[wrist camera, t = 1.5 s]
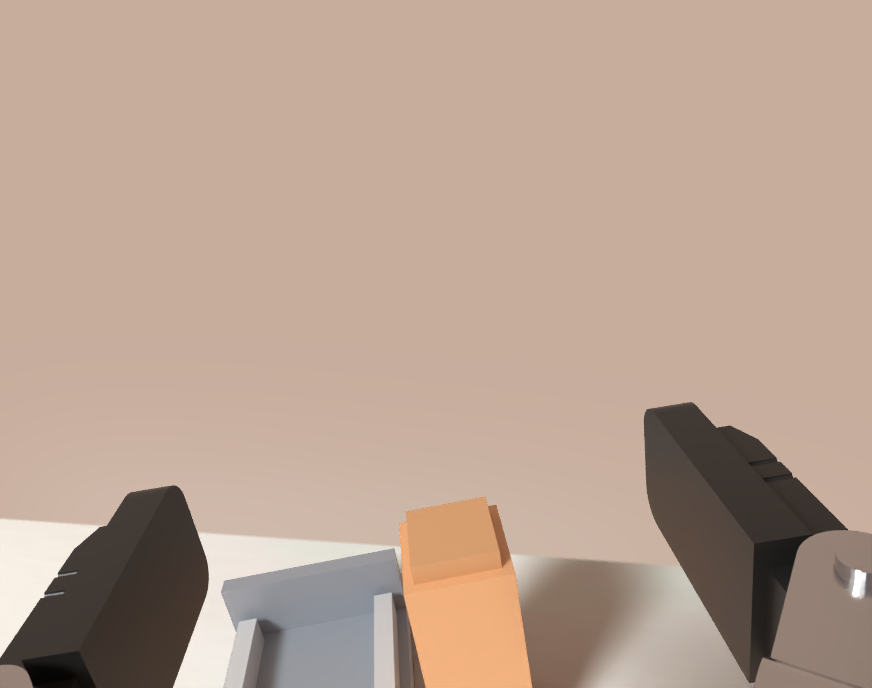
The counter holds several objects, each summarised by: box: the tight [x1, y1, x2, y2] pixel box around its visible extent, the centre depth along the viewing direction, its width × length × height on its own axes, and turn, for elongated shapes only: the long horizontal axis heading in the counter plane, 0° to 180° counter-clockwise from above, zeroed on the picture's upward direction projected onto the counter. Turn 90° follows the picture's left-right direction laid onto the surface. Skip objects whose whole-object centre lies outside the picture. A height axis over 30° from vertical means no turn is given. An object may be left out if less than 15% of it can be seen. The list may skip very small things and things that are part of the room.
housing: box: [221, 549, 415, 688], centre depth 31 cm, size 9×9×4 cm
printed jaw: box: [400, 497, 532, 688], centre depth 27 cm, size 4×4×11 cm
